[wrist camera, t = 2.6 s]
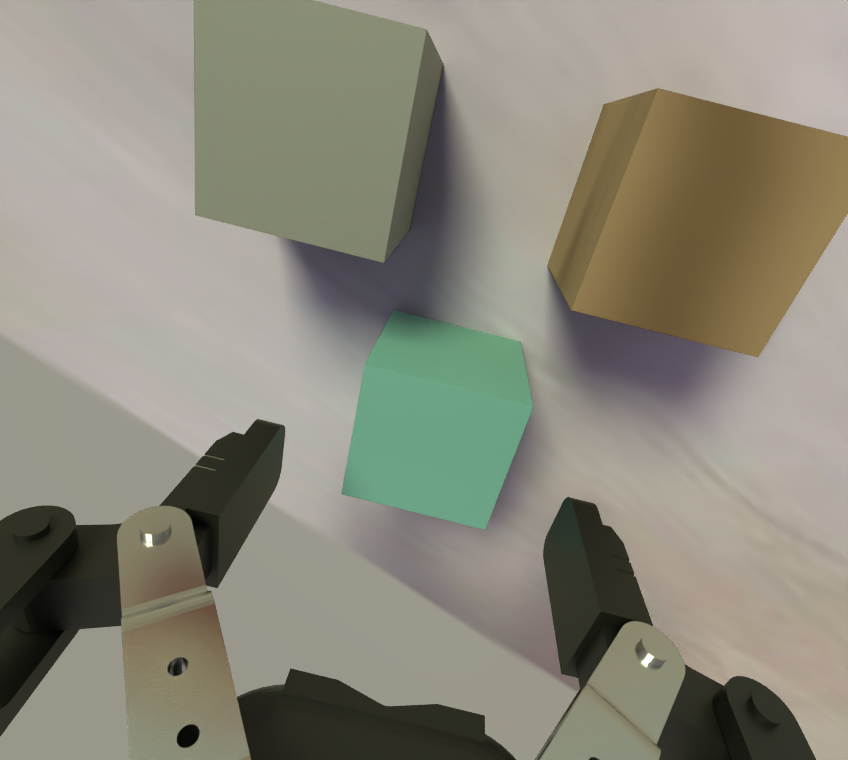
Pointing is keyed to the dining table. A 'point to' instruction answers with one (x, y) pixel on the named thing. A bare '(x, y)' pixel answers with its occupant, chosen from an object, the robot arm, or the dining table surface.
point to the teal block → (438, 419)
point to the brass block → (698, 218)
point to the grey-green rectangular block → (311, 121)
